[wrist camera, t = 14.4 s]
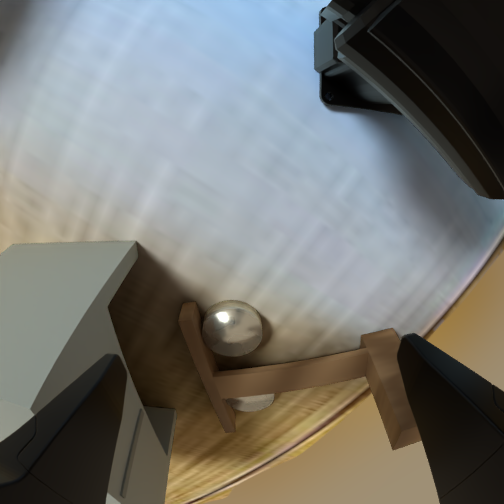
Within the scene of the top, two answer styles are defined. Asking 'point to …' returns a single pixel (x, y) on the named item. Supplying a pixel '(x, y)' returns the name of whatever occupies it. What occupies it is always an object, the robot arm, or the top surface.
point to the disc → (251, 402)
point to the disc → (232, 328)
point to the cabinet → (75, 351)
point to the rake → (308, 377)
